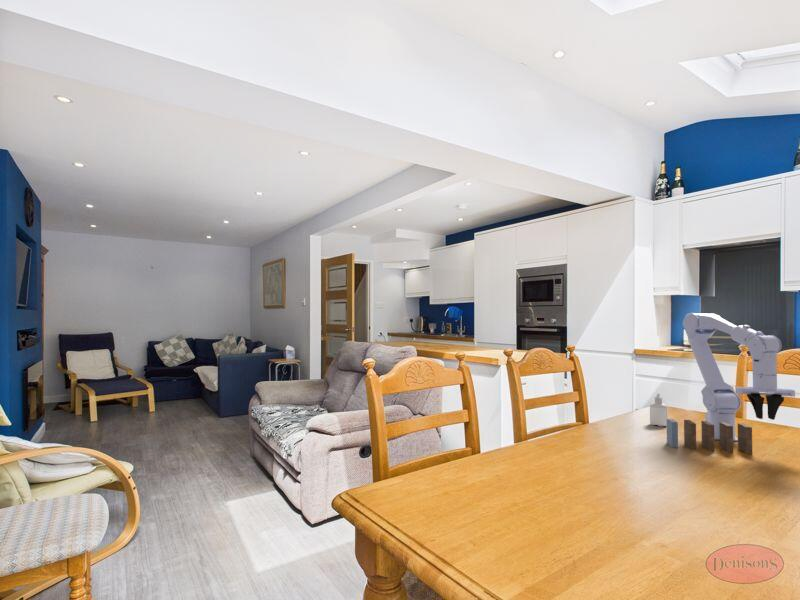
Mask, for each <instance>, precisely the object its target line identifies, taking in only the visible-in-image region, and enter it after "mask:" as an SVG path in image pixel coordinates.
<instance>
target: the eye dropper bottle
mask: <svg viewBox="0 0 800 600" xmlns="http://www.w3.org/2000/svg"><path fill="white" fill-rule="evenodd" d="M667 419H668V406H667V405H666V404H664V403H663V397H661V396H660V393H657V394H656V396H654V402H652V403H650V404H649V424H650V425H651V426H654V425H658V426H657V427H662V426H666V427H667Z"/></svg>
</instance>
